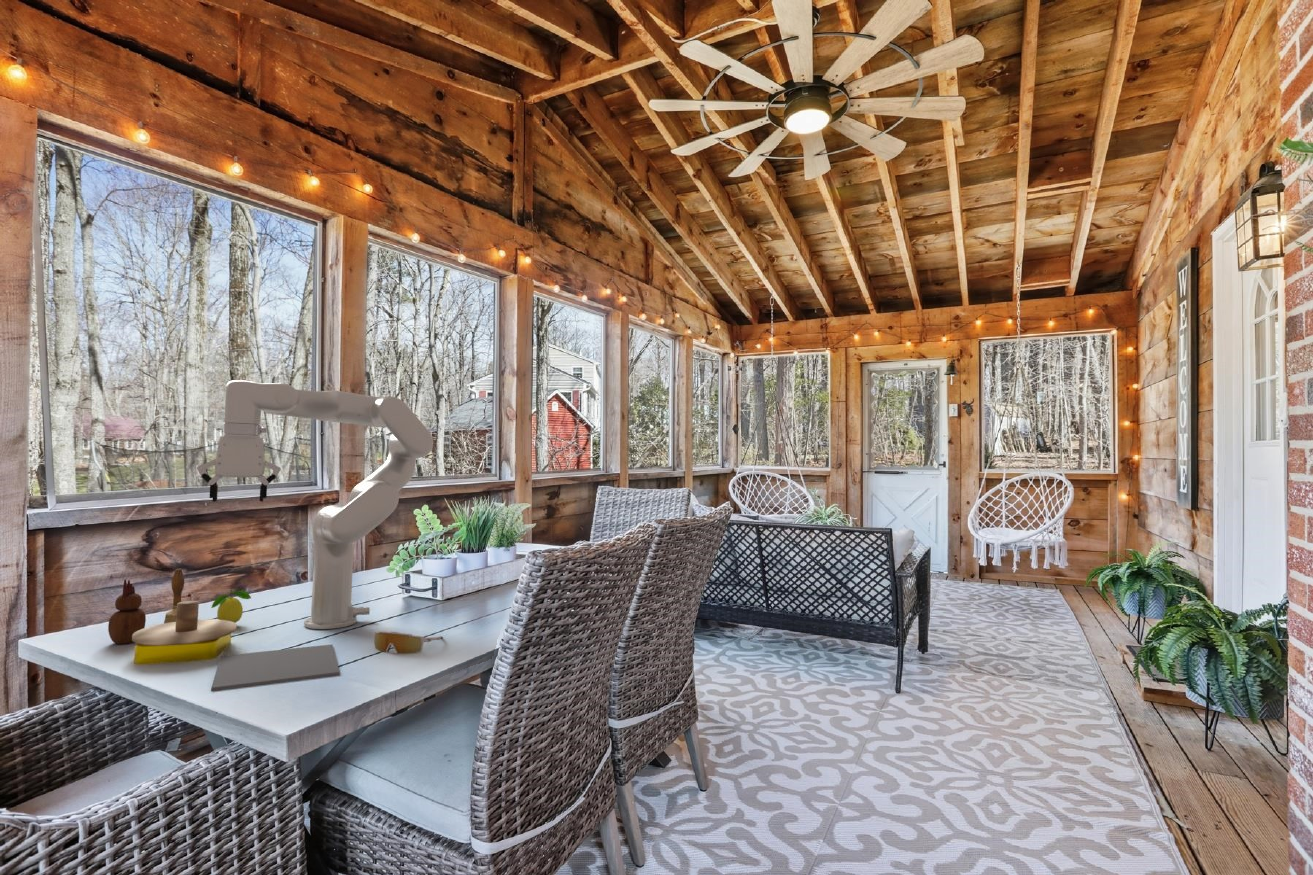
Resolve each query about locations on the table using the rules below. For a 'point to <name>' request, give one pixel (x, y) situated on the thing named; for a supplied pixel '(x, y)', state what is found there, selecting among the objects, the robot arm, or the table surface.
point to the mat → (275, 666)
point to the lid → (184, 628)
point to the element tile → (180, 651)
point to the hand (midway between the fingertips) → (238, 501)
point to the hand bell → (175, 594)
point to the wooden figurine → (126, 616)
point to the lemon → (230, 606)
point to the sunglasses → (400, 642)
